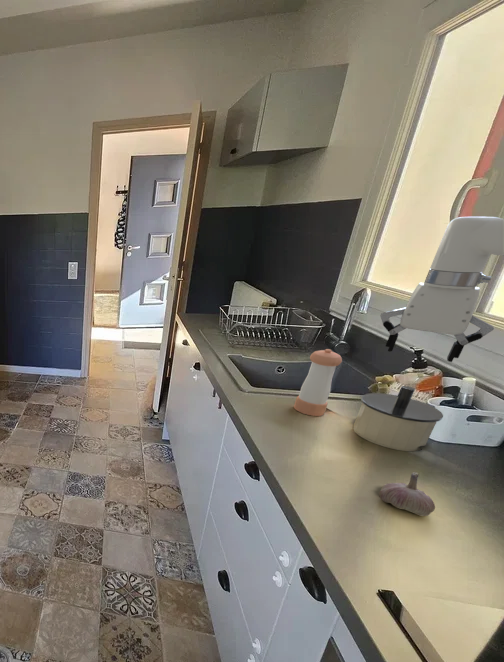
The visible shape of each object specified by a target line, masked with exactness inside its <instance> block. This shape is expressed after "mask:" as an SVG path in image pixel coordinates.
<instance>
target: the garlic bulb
mask: <svg viewBox="0 0 504 662" xmlns="http://www.w3.org/2000/svg"><path fill="white" fill-rule="evenodd" d="M418 479H419V472H416V471H413V472H412V473H410V479H409V482H408V484H406V483H404V482H389V483H385V484H383V486H382V487H381V488H380V491H379V493H378V496H379V498H380V500H381V501H382V502H384V503H386V504H391V505H392V506H393V507H395V508H397V509H399V510H405V511H407V512H410V513H413V514H414V515H417V516H420V517H427V516H429V515H430V514H431V513H433V512H434V511H435V509H436V505H435V502H434V500H433V499H432V498H431V497H430V496H429V495H428V494H426V493H425V492H424V491H423V490H421V489H418V486H417V484H418Z"/></svg>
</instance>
